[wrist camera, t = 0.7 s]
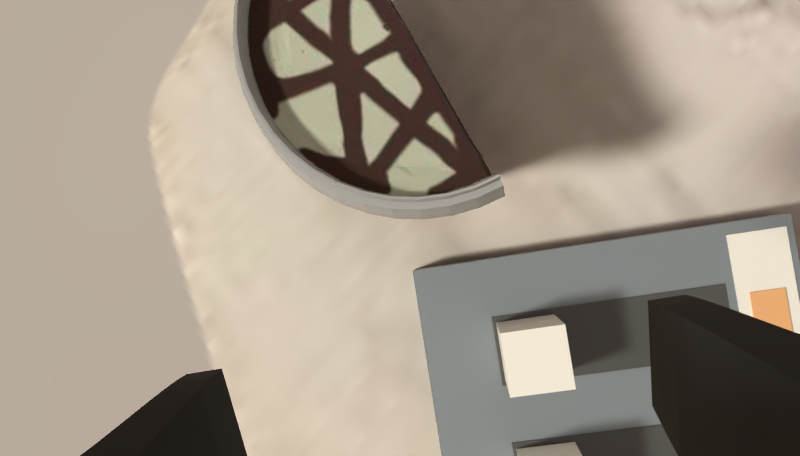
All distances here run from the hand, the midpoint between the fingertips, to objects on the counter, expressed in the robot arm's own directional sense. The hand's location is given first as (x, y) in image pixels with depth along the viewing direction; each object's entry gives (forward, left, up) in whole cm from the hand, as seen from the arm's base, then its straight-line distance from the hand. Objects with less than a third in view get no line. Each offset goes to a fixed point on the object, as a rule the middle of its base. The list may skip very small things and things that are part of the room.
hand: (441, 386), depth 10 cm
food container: (+8, +3, -19) cm, 21 cm away
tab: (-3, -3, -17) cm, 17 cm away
